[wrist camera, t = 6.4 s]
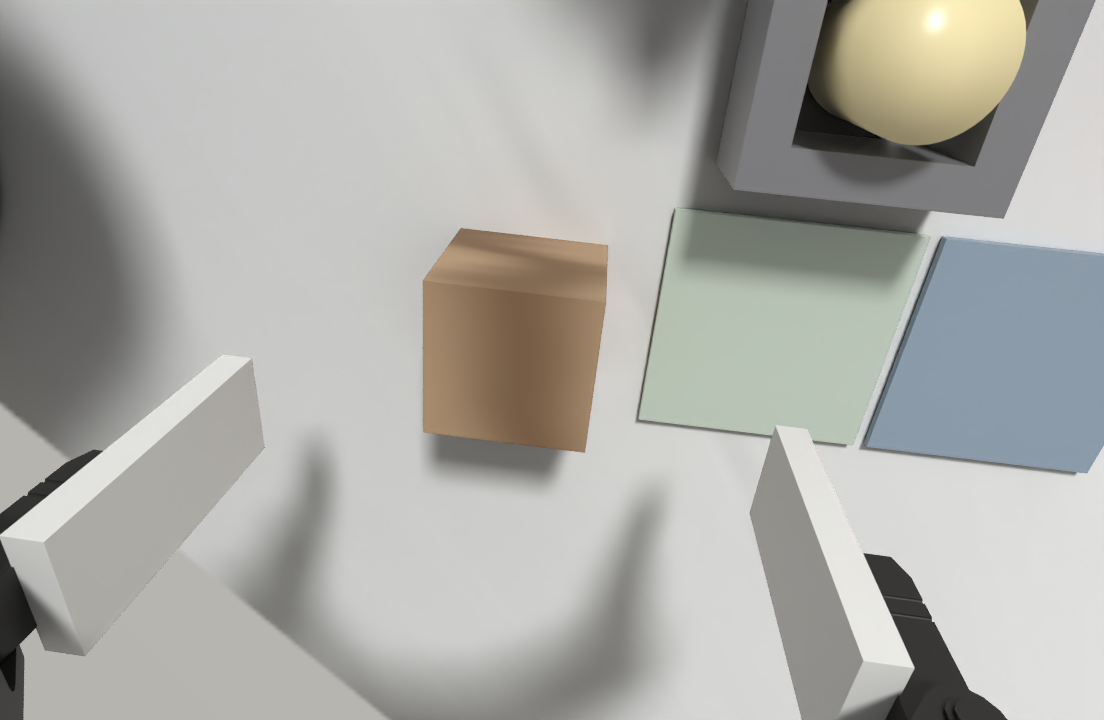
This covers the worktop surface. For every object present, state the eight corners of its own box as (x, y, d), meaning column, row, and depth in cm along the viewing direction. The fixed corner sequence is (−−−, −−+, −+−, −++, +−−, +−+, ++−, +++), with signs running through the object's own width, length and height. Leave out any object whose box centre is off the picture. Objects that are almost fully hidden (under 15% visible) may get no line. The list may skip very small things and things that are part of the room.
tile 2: (864, 442, 24) (866, 446, 24) (942, 236, 21) (946, 239, 20) (1081, 468, 24) (1086, 473, 24) (1201, 264, 20) (1209, 267, 20)
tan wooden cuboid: (458, 357, 24) (423, 432, 20) (461, 227, 22) (422, 280, 18) (590, 373, 24) (584, 452, 20) (608, 244, 22) (605, 302, 18)
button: (790, 114, 19) (829, 137, 15) (825, -31, 17) (879, -43, 14) (916, 127, 19) (986, 153, 15) (965, -18, 17) (1056, -27, 13)
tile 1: (638, 415, 25) (638, 419, 25) (675, 207, 21) (675, 210, 21) (850, 440, 24) (852, 445, 24) (926, 234, 21) (930, 237, 20)
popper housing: (715, 163, 20) (733, 189, 17) (770, -111, 17) (804, -139, 14) (944, 187, 20) (1003, 218, 17) (1044, -87, 17) (1141, -110, 14)
